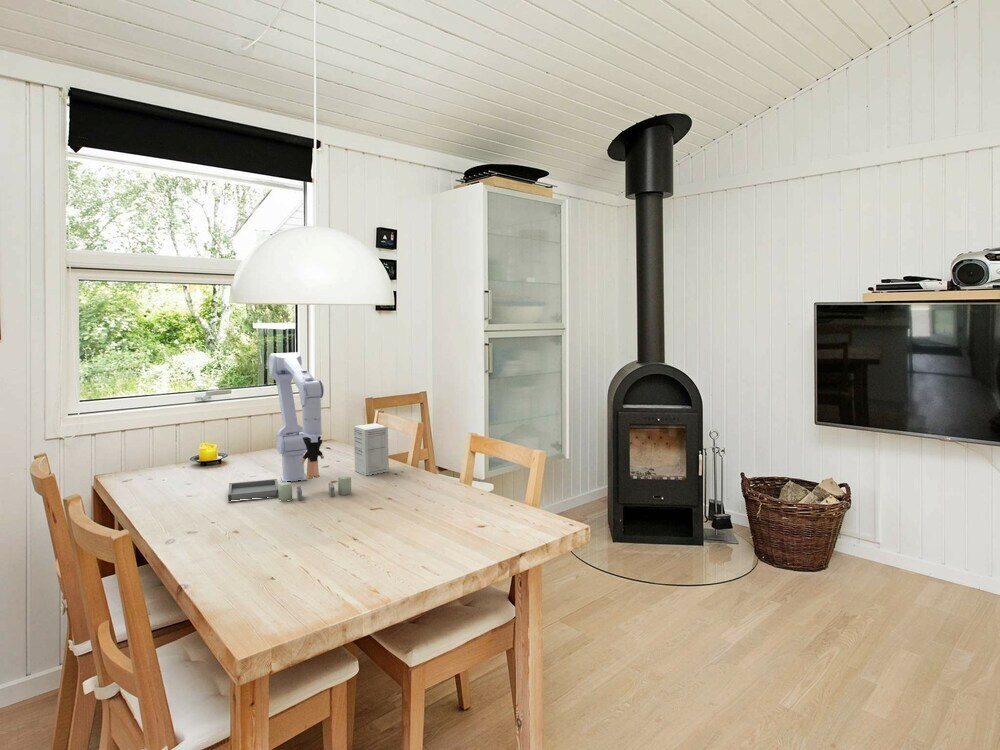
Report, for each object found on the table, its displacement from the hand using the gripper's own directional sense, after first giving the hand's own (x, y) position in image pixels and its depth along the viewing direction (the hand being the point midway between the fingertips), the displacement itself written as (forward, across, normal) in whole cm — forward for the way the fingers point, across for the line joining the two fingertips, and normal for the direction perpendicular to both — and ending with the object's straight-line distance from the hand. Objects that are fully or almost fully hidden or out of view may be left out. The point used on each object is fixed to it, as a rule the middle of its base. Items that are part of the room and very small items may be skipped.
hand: (312, 460), depth 198 cm
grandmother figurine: (+6, 0, 0) cm, 6 cm away
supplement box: (+11, -18, +22) cm, 30 cm away
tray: (+10, -4, -18) cm, 21 cm away
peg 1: (+10, +6, +9) cm, 15 cm away
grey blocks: (+10, +6, 0) cm, 12 cm away
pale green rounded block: (+10, +6, -9) cm, 15 cm away
